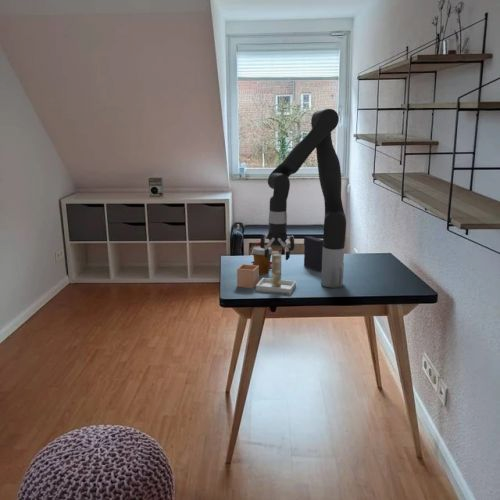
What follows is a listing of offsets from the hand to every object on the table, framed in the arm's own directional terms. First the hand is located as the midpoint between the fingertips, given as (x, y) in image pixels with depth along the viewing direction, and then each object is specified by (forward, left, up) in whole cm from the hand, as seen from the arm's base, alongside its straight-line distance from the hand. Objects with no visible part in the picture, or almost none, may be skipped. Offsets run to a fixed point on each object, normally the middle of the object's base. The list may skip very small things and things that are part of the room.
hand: (277, 258), depth 213 cm
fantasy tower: (+15, -31, -14) cm, 37 cm away
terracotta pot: (+13, -1, -13) cm, 19 cm away
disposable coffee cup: (+12, -20, -14) cm, 27 cm away
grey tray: (0, 0, -13) cm, 13 cm away
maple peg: (0, 0, -13) cm, 13 cm away
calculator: (-10, -35, -14) cm, 39 cm away
